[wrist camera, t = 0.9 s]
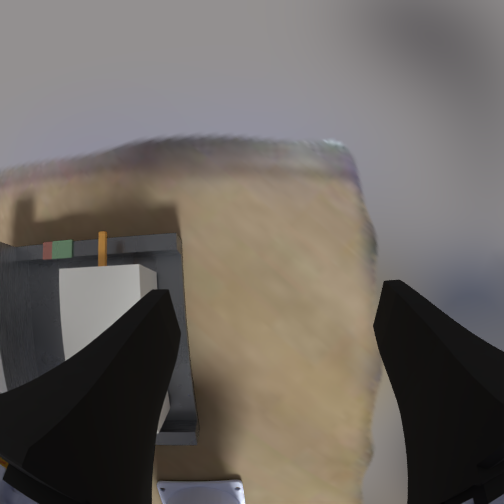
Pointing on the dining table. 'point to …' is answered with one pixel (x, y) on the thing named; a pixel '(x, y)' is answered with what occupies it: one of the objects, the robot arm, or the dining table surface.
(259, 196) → the dining table surface
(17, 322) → the gauge frame
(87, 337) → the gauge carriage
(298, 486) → the dining table surface
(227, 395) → the dining table surface
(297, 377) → the dining table surface
